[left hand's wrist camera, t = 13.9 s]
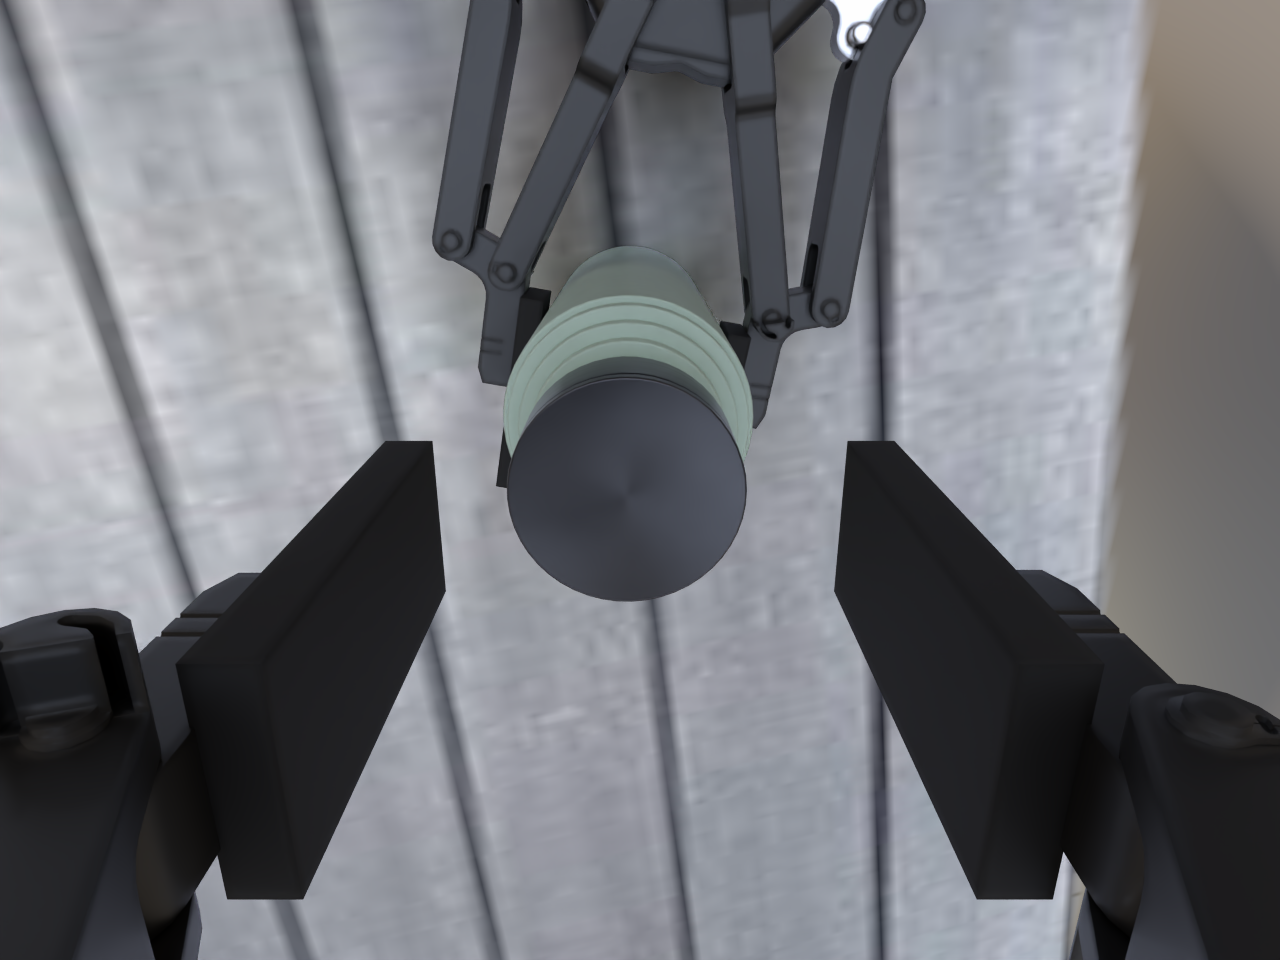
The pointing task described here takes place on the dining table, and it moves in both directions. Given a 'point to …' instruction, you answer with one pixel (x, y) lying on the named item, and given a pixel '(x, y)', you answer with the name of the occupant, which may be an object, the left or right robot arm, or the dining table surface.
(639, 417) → the cap
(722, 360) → the bottle
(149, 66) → the dining table surface
